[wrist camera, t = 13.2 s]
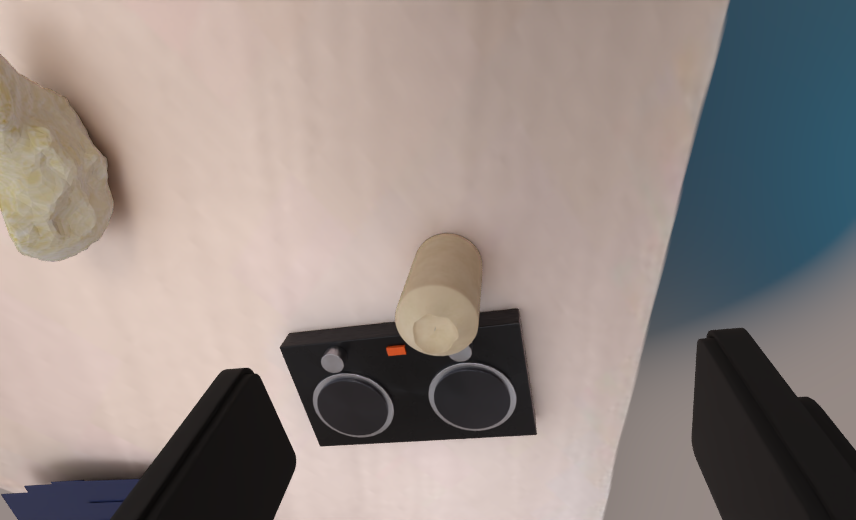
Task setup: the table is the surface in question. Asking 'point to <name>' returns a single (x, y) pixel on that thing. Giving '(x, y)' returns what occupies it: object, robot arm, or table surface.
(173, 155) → the table surface
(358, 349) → the hot plate
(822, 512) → the robot arm
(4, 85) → the cream lumpy piece
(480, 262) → the candle
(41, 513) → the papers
